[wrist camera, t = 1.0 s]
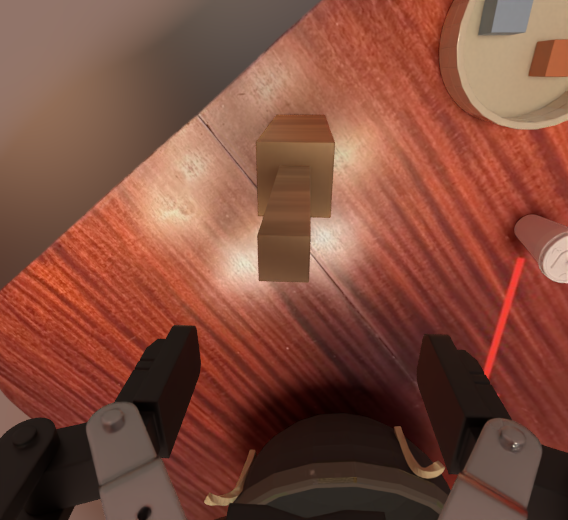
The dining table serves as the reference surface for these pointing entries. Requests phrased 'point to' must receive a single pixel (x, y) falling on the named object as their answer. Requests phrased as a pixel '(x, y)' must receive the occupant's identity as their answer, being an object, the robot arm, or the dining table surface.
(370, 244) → the dining table surface
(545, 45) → the terracotta block
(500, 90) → the round beige tray
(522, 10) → the bluegrey block
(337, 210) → the dining table surface
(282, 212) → the wooden square bar
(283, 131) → the oak stand
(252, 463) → the bowl
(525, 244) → the smoothie
